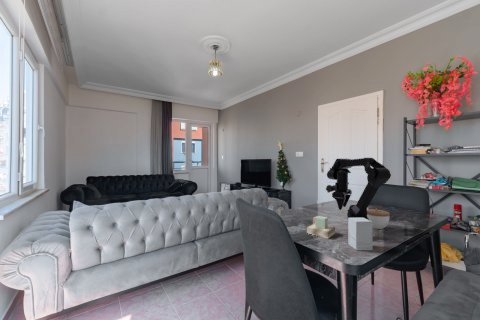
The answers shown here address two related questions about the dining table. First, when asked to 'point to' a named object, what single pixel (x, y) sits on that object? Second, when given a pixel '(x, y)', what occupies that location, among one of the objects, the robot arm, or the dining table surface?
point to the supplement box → (360, 233)
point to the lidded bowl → (378, 218)
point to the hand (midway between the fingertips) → (342, 208)
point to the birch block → (321, 231)
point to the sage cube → (321, 222)
